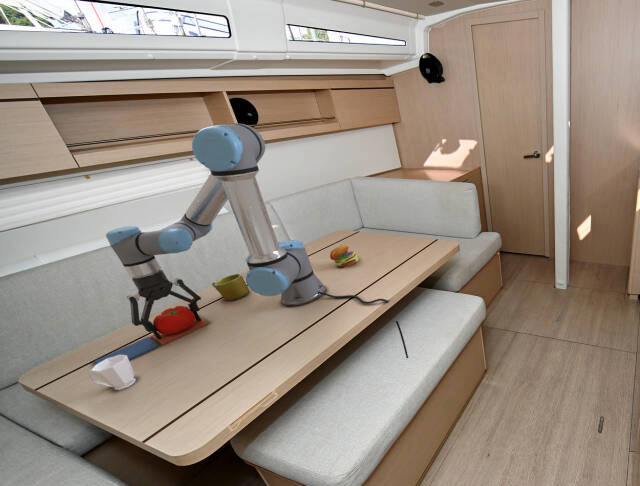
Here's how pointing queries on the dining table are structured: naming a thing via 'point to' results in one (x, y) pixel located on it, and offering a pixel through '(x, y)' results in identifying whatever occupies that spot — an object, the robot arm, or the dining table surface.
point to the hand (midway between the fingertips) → (179, 328)
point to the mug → (231, 287)
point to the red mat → (169, 337)
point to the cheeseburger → (343, 256)
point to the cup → (114, 372)
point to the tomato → (174, 320)
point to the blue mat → (133, 350)
